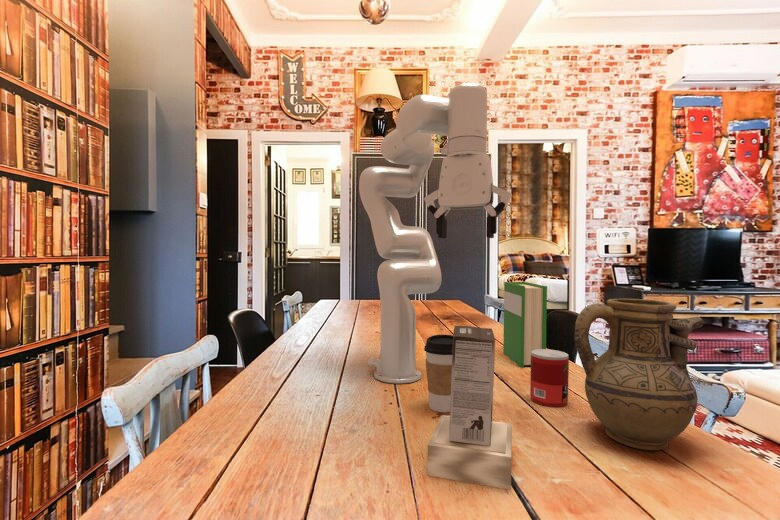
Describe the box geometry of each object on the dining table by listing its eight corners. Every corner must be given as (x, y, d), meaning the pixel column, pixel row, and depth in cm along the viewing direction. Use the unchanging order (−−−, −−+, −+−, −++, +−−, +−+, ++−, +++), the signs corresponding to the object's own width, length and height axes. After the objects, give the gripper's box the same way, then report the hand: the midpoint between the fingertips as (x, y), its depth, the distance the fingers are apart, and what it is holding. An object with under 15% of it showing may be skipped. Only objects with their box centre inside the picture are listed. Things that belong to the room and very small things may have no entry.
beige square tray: (427, 478, 62) (427, 443, 61) (441, 443, 73) (441, 414, 73) (510, 492, 58) (511, 456, 58) (511, 453, 69) (512, 422, 69)
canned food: (571, 408, 89) (572, 358, 89) (532, 405, 90) (533, 355, 90) (563, 396, 96) (564, 350, 96) (528, 394, 98) (528, 348, 98)
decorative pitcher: (589, 458, 67) (592, 305, 67) (559, 416, 85) (561, 294, 84) (735, 469, 64) (739, 309, 64) (673, 422, 82) (675, 297, 81)
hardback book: (545, 367, 121) (547, 286, 120) (520, 367, 121) (521, 286, 120) (525, 353, 138) (526, 282, 138) (503, 353, 138) (504, 281, 138)
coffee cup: (465, 403, 91) (466, 335, 91) (459, 417, 83) (459, 343, 83) (428, 398, 94) (429, 333, 94) (418, 411, 86) (419, 340, 86)
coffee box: (450, 418, 71) (454, 324, 70) (489, 422, 70) (493, 327, 69) (447, 441, 62) (451, 334, 62) (491, 447, 61) (496, 338, 60)
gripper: (418, 151, 81) (417, 237, 82) (508, 141, 74) (506, 236, 74) (432, 159, 88) (431, 239, 88) (515, 150, 80) (514, 238, 81)
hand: (465, 238), depth 81 cm, fingers open, 9 cm apart
